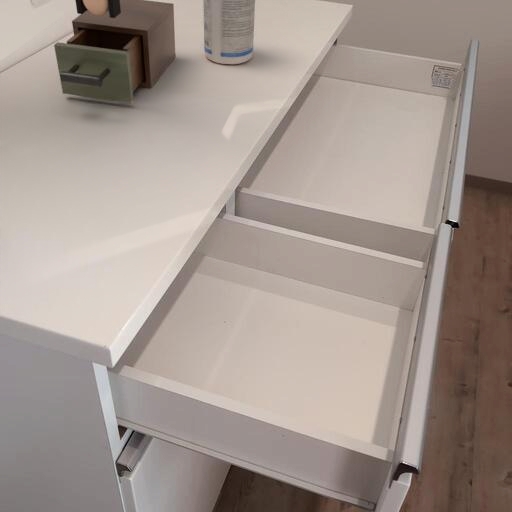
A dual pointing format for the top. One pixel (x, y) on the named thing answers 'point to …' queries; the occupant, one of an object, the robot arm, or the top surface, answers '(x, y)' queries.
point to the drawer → (101, 64)
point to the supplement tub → (228, 30)
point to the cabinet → (140, 32)
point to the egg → (97, 6)
